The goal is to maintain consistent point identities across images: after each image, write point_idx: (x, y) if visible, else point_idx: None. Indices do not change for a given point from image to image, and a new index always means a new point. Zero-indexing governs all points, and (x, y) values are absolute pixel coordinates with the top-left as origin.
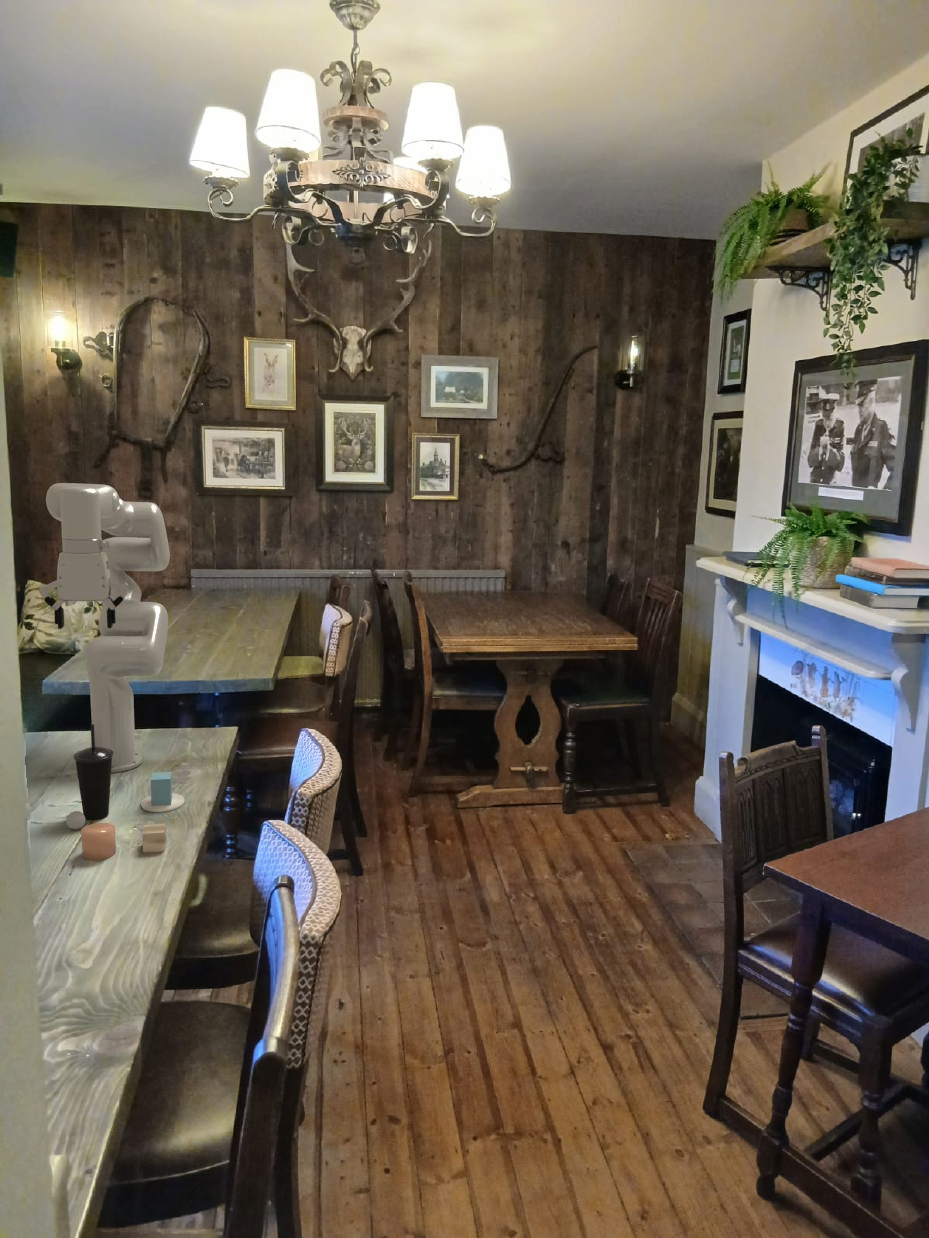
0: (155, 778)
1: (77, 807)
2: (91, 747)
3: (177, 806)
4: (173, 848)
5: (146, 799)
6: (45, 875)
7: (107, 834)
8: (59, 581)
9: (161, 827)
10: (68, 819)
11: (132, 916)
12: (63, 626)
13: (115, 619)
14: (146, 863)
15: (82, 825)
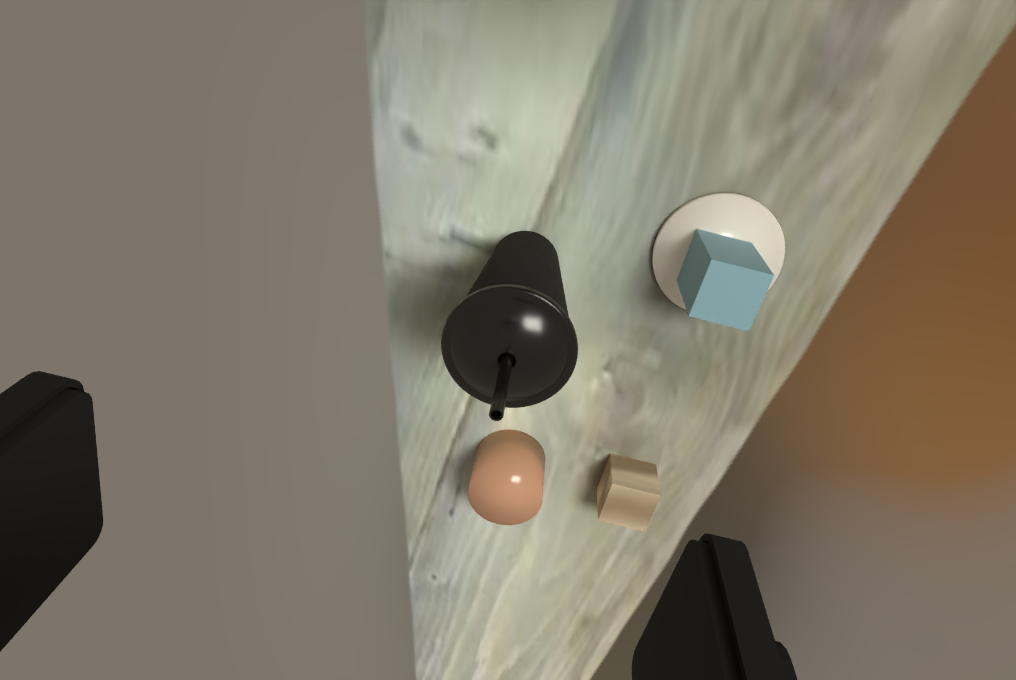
0: (706, 310)
1: (481, 183)
2: (501, 344)
3: None
4: (660, 496)
5: (676, 225)
6: (406, 499)
7: (522, 521)
8: None
9: (645, 508)
10: None
11: (536, 658)
12: (95, 446)
13: (788, 673)
14: (593, 530)
15: None
